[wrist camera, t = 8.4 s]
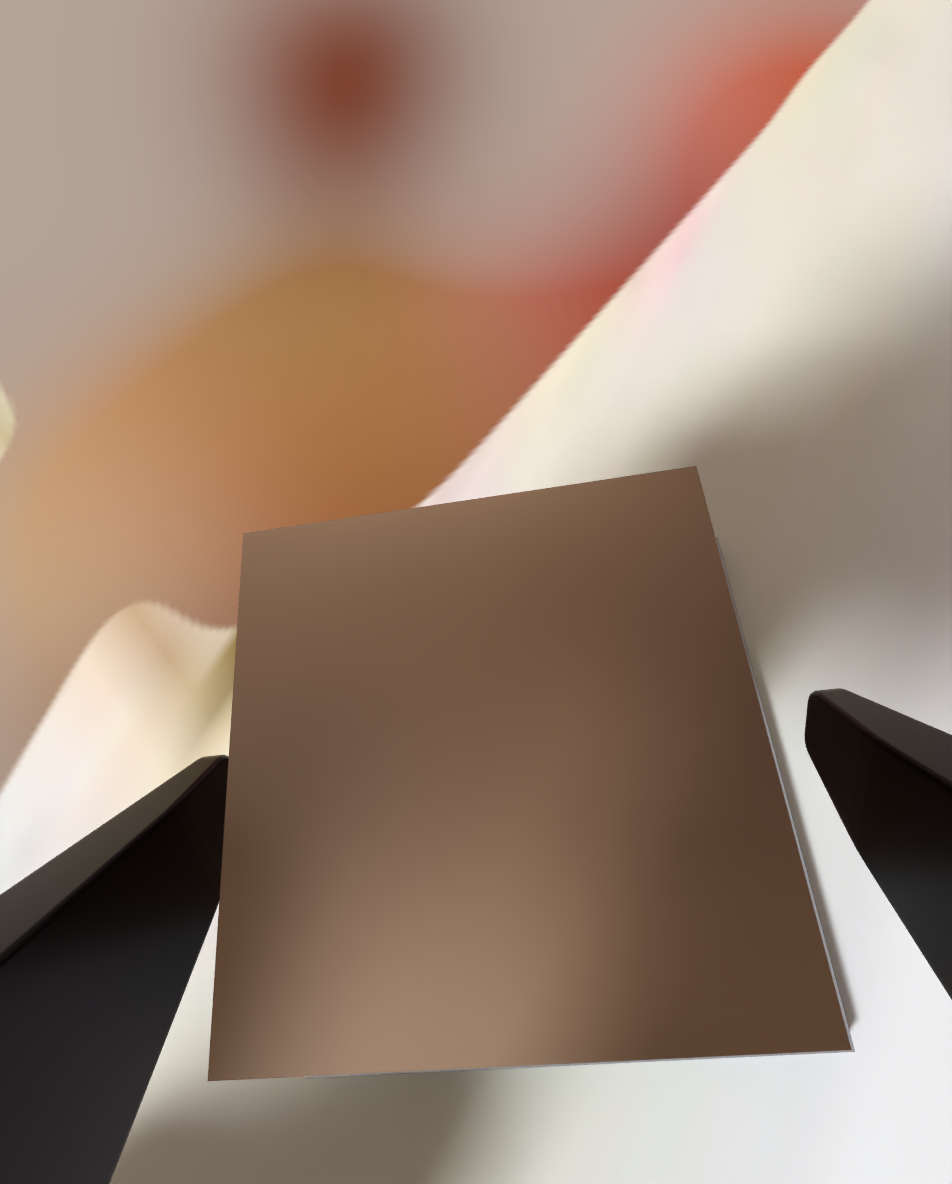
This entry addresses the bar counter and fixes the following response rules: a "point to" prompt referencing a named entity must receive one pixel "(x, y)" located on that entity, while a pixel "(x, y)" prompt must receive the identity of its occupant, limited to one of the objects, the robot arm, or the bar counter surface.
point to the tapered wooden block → (505, 798)
